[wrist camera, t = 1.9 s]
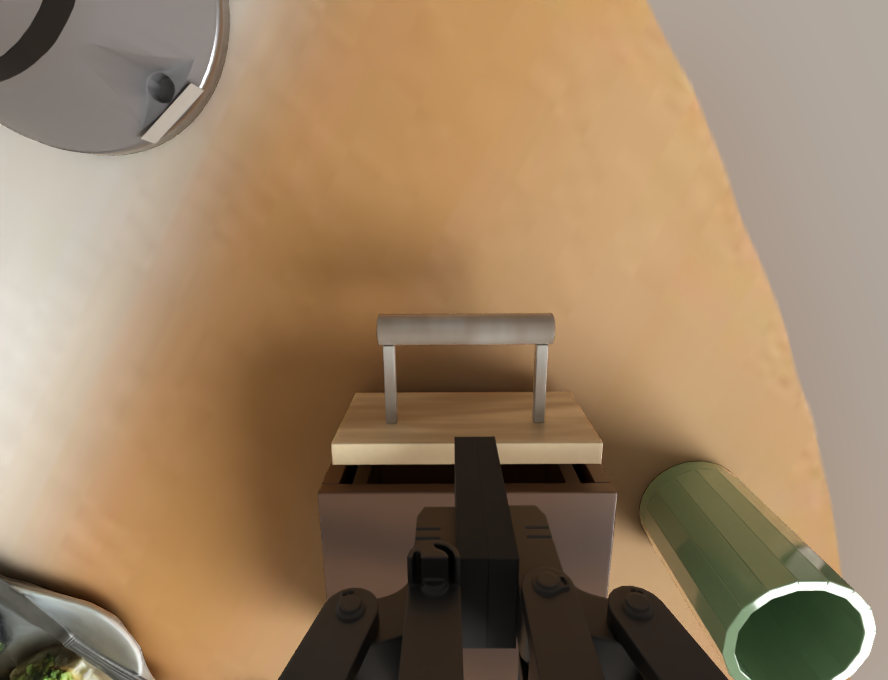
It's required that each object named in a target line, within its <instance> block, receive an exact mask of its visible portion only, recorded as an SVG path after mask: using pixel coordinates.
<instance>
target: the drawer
mask: <svg viewBox="0 0 888 680" xmlns="http://www.w3.org/2000/svg"><path fill="white" fill-rule="evenodd" d="M554 337H555V320H554V316H553V314H552V313H513V314H379V315H378V318H377V340H378V344H379V345H383V364H384V387H385V393H355V395H354V397H353V399H352V401H351V403H350V405H349V407H348V410H347V412H346V414H345V416H344V418H343V420H342V422H341V424H340V426H339V428H338V431H337V433H336V435H335V437H334V439H333V441H332V443H331V452H332V464H333V465H358V468H357V471H356V474H355V477H354V480H353V483H352V484H455V451H454V437H491V436H495V440H496V445H497V450H498V455H499V460H500V465H501V470H502V475H503V480H504V483H580V480H579V478H578V476H577V474H576V472H575V470H574V468H573V466H572V464H601V461H602V450H603V442H602V440H601V439H600V437H599V436H598V434H597V433H596V431H595V430H594V428H593V426H592V425H591V423H590V422H589V420H588V419H587V417H586V416H585V414H584V413H583V411H582V409H581V408H580V406H579V405H578V403H577V402H576V400H575V399H574V397H573V395H572V394H571V392H546V381H547V361H548V344H552V343H553V341H554ZM483 344H535V358H534V381H533V392H408V393H397V380H396V353H395V345H483Z"/></svg>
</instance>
